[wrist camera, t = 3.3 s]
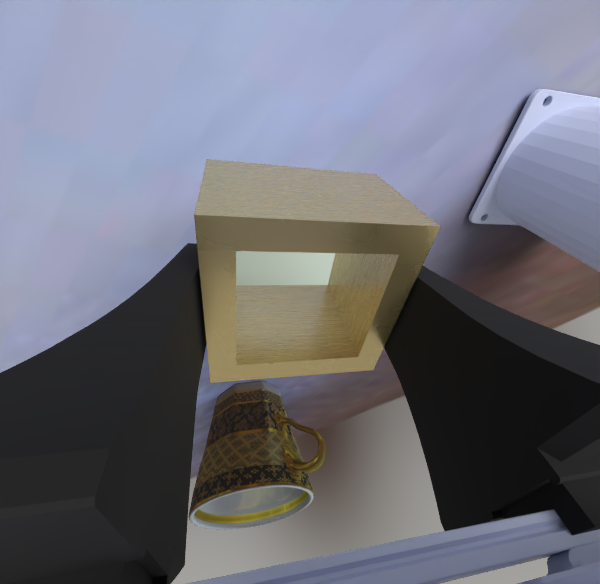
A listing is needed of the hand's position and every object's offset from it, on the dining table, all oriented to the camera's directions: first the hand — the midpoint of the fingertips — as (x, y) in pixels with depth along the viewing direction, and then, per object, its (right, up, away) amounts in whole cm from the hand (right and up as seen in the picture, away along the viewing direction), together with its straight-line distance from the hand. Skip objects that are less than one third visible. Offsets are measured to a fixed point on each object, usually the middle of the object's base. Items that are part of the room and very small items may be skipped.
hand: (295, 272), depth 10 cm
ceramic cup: (-4, -11, +21) cm, 24 cm away
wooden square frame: (0, +1, +1) cm, 2 cm away
